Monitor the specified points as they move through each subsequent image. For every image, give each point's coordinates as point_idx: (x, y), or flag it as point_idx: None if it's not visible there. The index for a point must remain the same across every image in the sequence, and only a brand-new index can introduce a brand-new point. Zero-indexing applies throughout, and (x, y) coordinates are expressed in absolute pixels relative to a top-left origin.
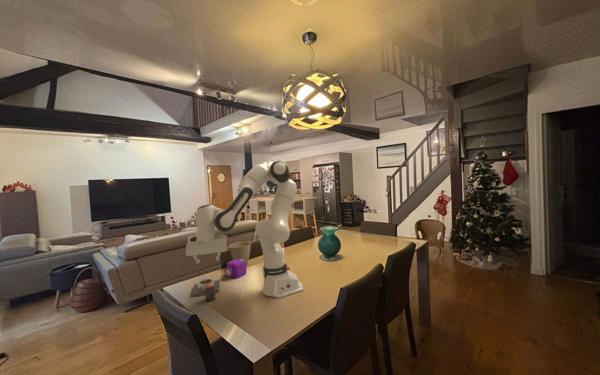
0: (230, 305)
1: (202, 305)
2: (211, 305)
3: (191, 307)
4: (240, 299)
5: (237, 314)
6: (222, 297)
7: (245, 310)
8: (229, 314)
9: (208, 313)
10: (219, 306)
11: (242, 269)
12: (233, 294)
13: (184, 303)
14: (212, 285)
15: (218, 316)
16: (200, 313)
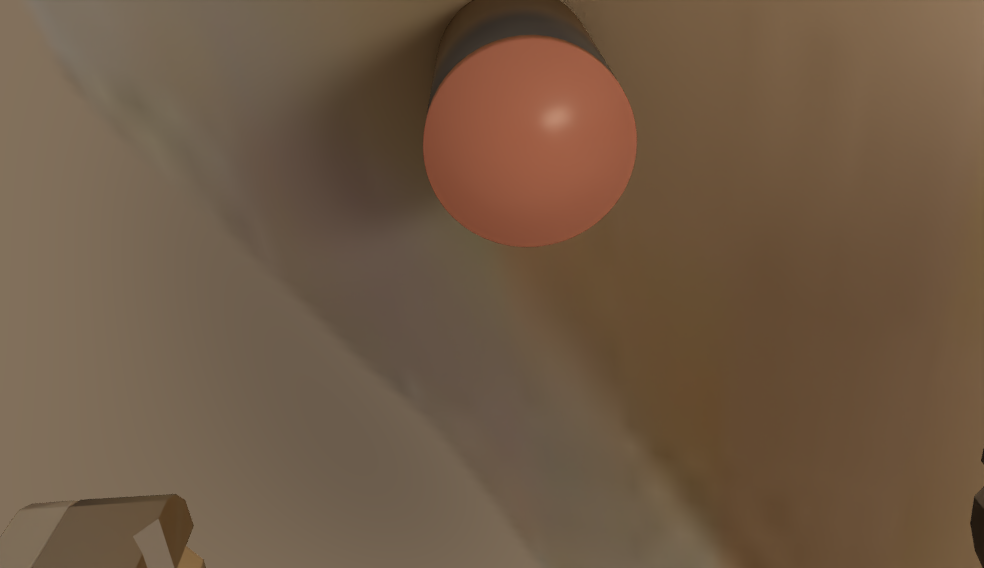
0: (811, 345)
1: (414, 227)
2: (549, 267)
3: (259, 236)
4: (975, 222)
5: (864, 551)
6: (709, 57)
7: (967, 503)
8: (778, 529)
9: (533, 447)
10: (663, 327)
11: None
12: (903, 3)
13: (89, 67)
14: (598, 216)
15: (656, 533)
16: (432, 421)
